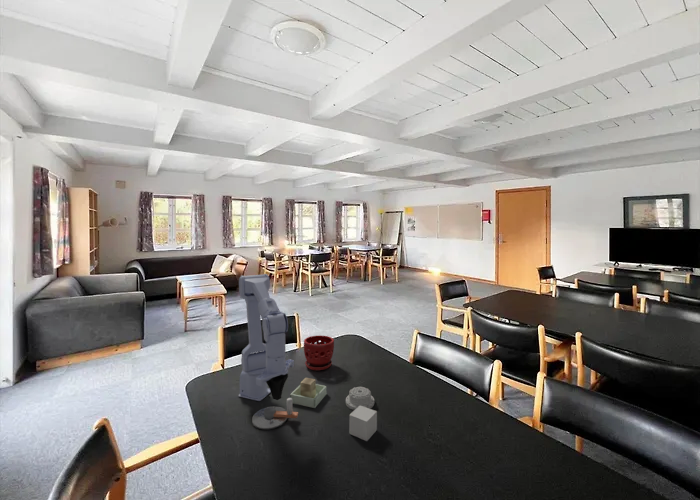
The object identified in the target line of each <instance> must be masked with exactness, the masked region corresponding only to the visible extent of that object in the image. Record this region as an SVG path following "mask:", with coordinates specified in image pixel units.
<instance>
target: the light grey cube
mask: <svg viewBox="0 0 700 500" xmlns="http://www.w3.org/2000/svg"><path fill="white" fill-rule="evenodd" d="M348 417H349V419H348V420H349V421H348V422H349V429H348V430H349V435H352V436H354V437H356V438H359V439H361V440H363V441H365V442H368V441H369V440H370V439H371V438H372V436H373V435H374V434H375V433H376V431H378V411H377V410H374V409H372V408H371V409H369V408H366V407H363V406H361V405H360V406H359V407H358V408H356V409H355V410H352V412H351V413H350V414H349V415H348Z"/></svg>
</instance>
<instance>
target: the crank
mask: <svg viewBox="0 0 700 500" xmlns="http://www.w3.org/2000/svg"><path fill="white" fill-rule="evenodd" d="M293 404H294V403H292V398H290V397H288V398H286V411H276V409H275V408H274V407H273V406H267V407H268V408H266V407H265V408H266V409H265V410H264V417H265V418H266V419H272V418H274V417H285V418H287V419H297V418H298V416H299V412H298V411H294V409H293V408H294V407H293Z"/></svg>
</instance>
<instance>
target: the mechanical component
mask: <svg viewBox="0 0 700 500" xmlns="http://www.w3.org/2000/svg"><path fill="white" fill-rule="evenodd" d="M348 393H349V394H348V395H347V396H346V397H345V405H346V407H347V408H348V409H350V410H352V411H354V410H355V409H356V408H358V407H359V406H360V405H361V406H363V407H366V408H369V409H372V408H373V407H374V405H375V398H374V396H372V392H371V390H370V389H369V388H366V387H365V386H357V387H355V386H354V387H353V388H351V389H350V390H349V392H348Z"/></svg>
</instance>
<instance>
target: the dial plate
mask: <svg viewBox="0 0 700 500" xmlns="http://www.w3.org/2000/svg"><path fill="white" fill-rule="evenodd" d="M268 407H269V406H267V407H264V408H261V409H259V410H257V411H256V412H255V413H254V414H253V416H252V418H251V422H252V426H253V427H255V428H256V429H259V430H264V431H265V430H266V431H267V430H273V429H276V428H279V427H281V426H283V425H284V424H285V423H286V421H288V418H285V417H274V418H272V419H266V418H265V417H264V410H265V409H266V408H268ZM272 407H274V408H275V409H276V411H287V409H286V408H284V407H280V406H272Z"/></svg>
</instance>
